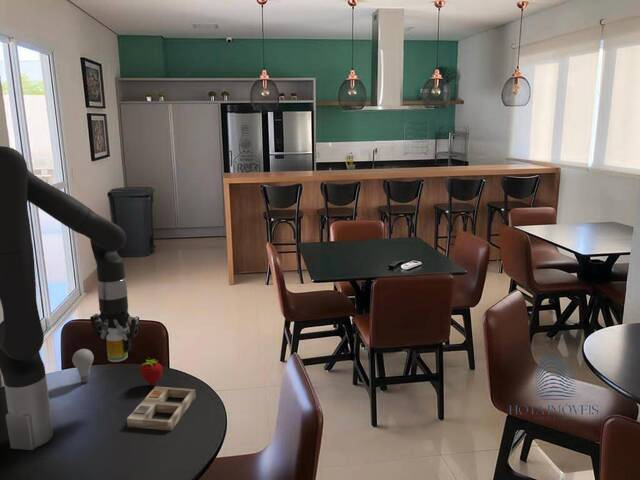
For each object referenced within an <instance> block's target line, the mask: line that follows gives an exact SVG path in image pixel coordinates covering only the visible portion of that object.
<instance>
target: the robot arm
mask: <svg viewBox="0 0 640 480" xmlns="http://www.w3.org/2000/svg"><path fill="white" fill-rule="evenodd" d="M28 202H29V203H31V204H32V205H33V206H35V207H37V208H38V209H40V210H42V211H43V212H44V213H46V214H47V215H49V216H50V217H51V218H53V219H55V220H57V221H58V222H59V223H61V224H62V225H64V226H65V227H67V228H69V229H71V230H72V231H73V232H75V233H78V234H81V235H82V236H85V237H86V238H88V239H89V240H90V247H91V250H92V254H93V258H94V260H95V263H96V274H97V297H98V306H99V307H98V309H99V312H100V313H99V314H98V313H95V314H93V315H91V316H90V318H89V320H90V323H91V326H92V331H93V333H94V336H95V337H100V338H101V342H102V343H101V344H102V345H101V347H102V349H103V350H104V352H105V351H106V352H107V342H106V336H107V334H108V333H109V332H108V328H117V329H118V331H119V333H120V334H121V335H122V337H123V339H124V340H123V346H124V352H130V350H131V349H132V340H133V339H134V338H135V337H136V336H138V333H139V325H140V316H138V315H137V316H135V317H134V316H131V315H130V314H129V301H128V286H127V282H126V276H125V275H126V274H125V262H124V261H123V259H122V257H121V256H119V253H118V251H119V250H121V249H122V248H123V247H124V246H125V245H126V244H127V243H126V242H127V235H126V232H125V231H124V230H123V228H122V227H120V226H119V225H117V223H116V224H115V223H114V222H112V221H110V220H109V219H107V218H105V217H104V216H101V215H100V214H98V213H96V212H94V210H92V209H91V208H90V207H88V206H87V205H85V204H84V203H83V202H81V201H79V199H77V198H75V197H73V196H71V195H69V194H68V193H66V192H65V191H62V190H61V189H58V188H57V187H55V186H53V185H51V184H50V183H48V182H46V181H44V180H43V179H41V178H39V177H38V176H36V175H35V174H34V173H33V172H31V170H29V169H28V164H27V161H26V159H25V157H24V155H23V154H22V153H21V152H19V151H18V150H17V149H15V148H13V147H11V146H10V147H9V146H3V145H0V302H1V303H0V304H1V309H2V314H3V315H2V316H3V320H2V321H1V322H0V372H1V376H2V379H3V383H4V384H3V385H4V391H5V399H6V407H7V411H8V412H7V414H6V415H5V421H6V426H7V427H6V428H7V433H8V434H7V435H8V439H9V446H10V449H16V450H25V451H33V450H34V449H36V448H38V447H40V446H43V445H44V444H46V443H48V442H49V441H50V440H51V439H52V438H53V436H54V429H53V422H52V415H51V414H52V413H51V407H50V399H49V392H48V391H49V390H48V383H47V373H46V369H45V368H46V367H45V364H44V361H43V359H42V357H41V354H40V351H41V349H42V347H43V344H44V339H45V335H44V331H43V330H44V329H43V326H42V322H41V318H40V312H39V308H38V303H37V284H36V283H37V282H36V271H35V269H36V268H35V267H36V266H35V265H36V264H35V255H34V246H33V238H32V231H31V223H30V215H29V210H28V209H29V208H28ZM101 322H102V323H103V325H102V323H101ZM128 322H129V324H128ZM129 325H130V326H129Z"/></svg>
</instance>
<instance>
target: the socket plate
mask: <svg viewBox="0 0 640 480" xmlns="http://www.w3.org/2000/svg"><path fill="white" fill-rule="evenodd" d="M170 397H171V398H181V399H183V400H182V402H173V401H172V402H171V401H170V402H168V401H167V400H168V399H169V398H170ZM196 398H197V397H196V389H195V388H193V389H192V388H183V387H181V388H180V387H170V386H169V387H167V386H159V385H157V386H154V388H153V389H152V390H151V391H150V392H149V393H148V394H147V396H146V397H145V398H144V399H143V400H142V401H141V402H140V403H139V404H138V405H137V406H136V408H135V409H134V410H133V411H132V412H131V413H130V414H129V416H127V418H126V421H127V428H139V429H150V430H151V429H152V430H161V431H170V432H171V431H172V430H173V429H174V427H175V426H176V425H177V424H178V422H180V419H181V418H182V416H183V415H184V414H185V412H186V411H187V409H188V408H189V407H190V406H191V404H192V403H193V401H195V399H196ZM156 413H162V414H163V413H165V414H172V415H171V416H170V418H169V419H161V418H153V417H154V416H155V414H156Z"/></svg>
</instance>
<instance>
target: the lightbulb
mask: <svg viewBox="0 0 640 480" xmlns="http://www.w3.org/2000/svg"><path fill="white" fill-rule="evenodd" d="M94 357H95V356H94V354H93V352H92V351H91V350H90V349H87V348H80V349H79V350H77V351H75V352H74V353H73V355H72V359H71V361H72V364H73V365H74V367H75V368H76V370H77V371H78V375H79V376H80V377H79V378H80V381H81V382H82V383H87V382H88V381H89V380H91V379H90V374H91V367H92V365H93V362H94V359H95V358H94Z"/></svg>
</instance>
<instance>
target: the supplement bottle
mask: <svg viewBox="0 0 640 480" xmlns="http://www.w3.org/2000/svg"><path fill="white" fill-rule="evenodd" d="M108 332H109V333H108V334H107V336H106V342H107V351H106V352H107V360H108V361H109V362H112V363H117V362H118V363H119V362H121V361H125V360H126V359H127V358H128V355H129V354H128V352H129V351H128V352H124V346H123V340H124V339H123V337H122V335H121V334H120V333H119V331H118V329H117V328H108Z"/></svg>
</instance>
